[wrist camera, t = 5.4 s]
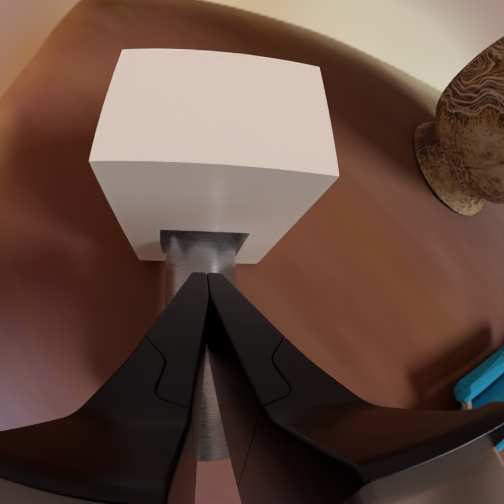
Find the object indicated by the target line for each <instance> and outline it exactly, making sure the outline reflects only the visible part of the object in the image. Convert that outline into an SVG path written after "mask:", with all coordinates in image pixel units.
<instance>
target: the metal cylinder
mask: <svg viewBox="0 0 504 504" xmlns="http://www.w3.org/2000/svg"><path fill="white" fill-rule="evenodd" d="M192 272H204V273H206V274H208V273H222V274H223V275H224V276H225V277H226V278H227V279H228V280H229V281H230V282H231V283H232V284H233V285H234V286H235V287H236V266H235V233H232V232H208V231H183V230H168V238H167V257H166V281H165V308H166V306H167V305H168V304H169V302H170V301H171V300H172V298H173V297H174V296H175V294H176V293H177V291H178V290H179V289H180V287H181V286H182V285H183V284H184V282H185V281H186V280H187V278H188V277H189V276H190V274H191V273H192ZM229 457H230V455H229V451H228V447H227V442H226V438H225V434H224V429H223V425H222V420H221V416H220V411H219V406H218V402H217V397H216V392H215V387H214V382H213V377H212V372H211V367H210V362H209V357H208V351H207V347H206V360H205V371H204V381H203V393H202V404H201V416H200V429H199V442H198V456H197V461H217V460H222V459H226V458H229Z"/></svg>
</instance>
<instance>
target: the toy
mask: <svg viewBox="0 0 504 504" xmlns="http://www.w3.org/2000/svg"><path fill="white" fill-rule="evenodd" d="M503 372H504V346H503V347H501V348H500V349H499V350H498V351H497V352H496V353H495V354H493V355H492V356H490V357H489V358H488V359H487V360H486V361H484V362H483V363H482V364H481V365H479V366H478V367H477V368H476V369H474V370H473V371H472V372H470V373H469V374H468V375H467V376H465V377H464V378H463V379H461V380H460V381H459V382H458V384H457V385H456V386H455V388H454V394H455V398H456V400H457V401H460V402H461V404H462V408H461V409H459V410H458V411H460V410H469V409H474V408H477V407H480V406H482V405H485V404H487V403H489V402H492V401H503V402H504V373H503ZM502 373H503V374H502ZM494 380H495V381H494ZM493 381H494V382H493ZM486 387H487V388H486ZM480 392H481V393H480ZM475 396H476V397H475ZM474 397H475V398H474ZM496 448H497V450H498V452H500V451H501V450H502V449H503V448H504V439H503V440H502V441H501V442H500V443H499V444H498V445H497V446H496Z"/></svg>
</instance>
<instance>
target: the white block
mask: <svg viewBox="0 0 504 504" xmlns="http://www.w3.org/2000/svg"><path fill="white" fill-rule="evenodd" d="M89 163H90V165H91V167H92V169H93V171H94V174H95V176H96V178H97V180H98V182H99V184H100V186H101V188H102V190H103V192H104V194H105V196H106V198H107V200H108V202H109V204H110V206H111V208H112V210H113V212H114V214H115V216H116V218H117V220H118V222H119V224H120V226H121V227H122V229H123V231H124V233H125V235H126V237H127V239H128V240H129V242H130V244H131V246H132V248H133V250H134V251H135V253H136V255H137V257H138V259H139V260H151V261H166V257H167V238H168V230H183V231H208V232H232V233H235V263H242V264H257V263H258V262H259V261H260V260H261V259H262V258H263V257H264V256H265V255H266V254H267V252H268V251H269V250H270V249H271V248H272V247H273V246H274V245H275V244H276V243H277V242H278V241H279V240H280V239H281V238H282V237H283V236H284V235H285V234H286V233H287V231H288V230H289V229H290V228H291V227H292V226H293V225H294V224H295V223H296V222H297V221H298V220H299V219H300V218H301V217H302V216H303V215H304V214H305V212H306V211H307V210H308V209H309V208H310V207H311V206H312V205H313V204H314V203H315V202H316V201H317V200H318V199H319V198H320V197H321V196H322V194H323V193H324V192H325V191H326V190H327V189H328V188H329V187H330V186H331V185H332V184H333V183H334V182H335V181H336V180H337V179H338V177H339V170H338V163H337V157H336V150H335V144H334V138H333V133H332V127H331V121H330V116H329V111H328V105H327V100H326V95H325V90H324V86H323V81H322V76H321V72H320V67H317V66H312V65H308V64H303V63H297V62H292V61H287V60H281V59H275V58H268V57H261V56H254V55H246V54H238V53H228V52H218V51H205V50H187V49H123V50H122V52H121V55H120V58H119V60H118V63H117V66H116V68H115V71H114V74H113V77H112V80H111V83H110V86H109V89H108V92H107V95H106V98H105V102H104V105H103V108H102V112H101V115H100V119H99V122H98V126H97V129H96V133H95V137H94V141H93V145H92V149H91V153H90V157H89Z"/></svg>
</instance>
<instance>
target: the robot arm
mask: <svg viewBox="0 0 504 504" xmlns="http://www.w3.org/2000/svg"><path fill="white" fill-rule="evenodd" d="M206 347H207V351H208V357H209V362H210V367H211V372H212V377H213V382H214V387H215V392H216V397H217V402H218V406H219V411H220V416H221V420H222V425H223V429H224V434H225V438H226V442H227V447H228V451H229V455H230V459H231V463H232V467H233V471H234V475H235V479H236V483H237V487H238V491H239V495H240V499H241V502H242V504H504V461H503V459H502V457H501V455H500V453H499V452H498V450H497V448H496V446H497V445H498V444H499V443H500V442H501V441H502V440H503V439H504V402H503V401H492V402H489V403H487V404H485V405H482V406H480V407H477V408H474V409H469V410H460V411H436V410H416V409H401V408H389V407H381V406H377V405H373V404H371V403H368V402H366V401H365V400H363V399H361V398H360V397H358V396H357V395H355V394H354V393H352V392H351V391H350V390H348V389H347V388H346V387H344V386H343V385H342V384H340V383H339V382H338V381H336V380H335V379H334V378H332V377H331V376H330V375H328V374H327V373H326V372H324V371H323V370H322V369H321V368H319V367H318V366H317V365H316V364H314V363H313V362H312V361H311V360H309V359H308V358H307V357H306V356H305V355H304V354H303V353H301V352H300V351H299V350H298V349H297V348H296V347H295V346H294V345H293V344H292V343H291V342H290V341H289V340H288V339H287V338H285V336H284V335H283V334H282V333H281V332H280V331H279V330H277V329H276V328H275V327H274V326H273V325H272V324H271V323H270V322H269V321H268V320H267V319H266V318H265V317H264V316H263V315H262V314H261V313H260V312H259V311H258V310H257V308H256V307H255V306H254V305H253V304H252V303H251V302H250V301H249V300H248V299H247V298H246V297H245V296H244V295H243V294H242V293H241V292H240V291H239V290H238V289H237V288H236V287H235V286H234V285H233V284H232V283H231V282H230V281H229V280H228V279H227V278H226V277H225V276H224V275H223V274H222V273H208V274H206V273H204V272H192V273H191V274H190V276H189V277H188V278H187V280H186V281H185V282H184V284H183V285H182V286H181V287H180V289H179V290H178V291H177V293H176V294H175V296H174V297H173V298H172V300H171V301H170V302H169V304H168V305H167V306H166V308H165V309H164V310H163V312H162V313H161V314H160V316H159V317H158V318H157V320H156V321H155V323H154V324H153V325H152V327H151V328H150V329H149V331H148V332H147V334H146V335H145V336H144V338H143V339H142V340H141V342H140V343H139V344H138V346H137V347H136V348H135V350H134V351H133V352H132V354H131V355H130V356H129V357H128V359H127V360H126V361H125V362H124V363H123V364H122V365H121V366H120V367H119V369H118V370H117V371H116V372H115V373H114V374H113V375H112V376H111V377H110V378H109V379H108V380H107V381H106V382H105V383H104V384H103V385H102V386H101V387H100V388H99V390H98V391H97V392H96V393H95V394H94V395H93V396H92V397H91V398H90V399H89V400H88V401H87V402H86V403H85V404H84V405H83V406H82V407H81V408H79V409H78V410H77V411H76V412H74V413H72V414H71V415H69V416H66V417H64V418H60V419H56V420H52V421H47V422H43V423H39V424H34V425H30V426H25V427H20V428H15V429H10V430H5V431H0V504H195V486H196V470H197V456H198V442H199V429H200V416H201V404H202V393H203V381H204V371H205V360H206Z"/></svg>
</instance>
